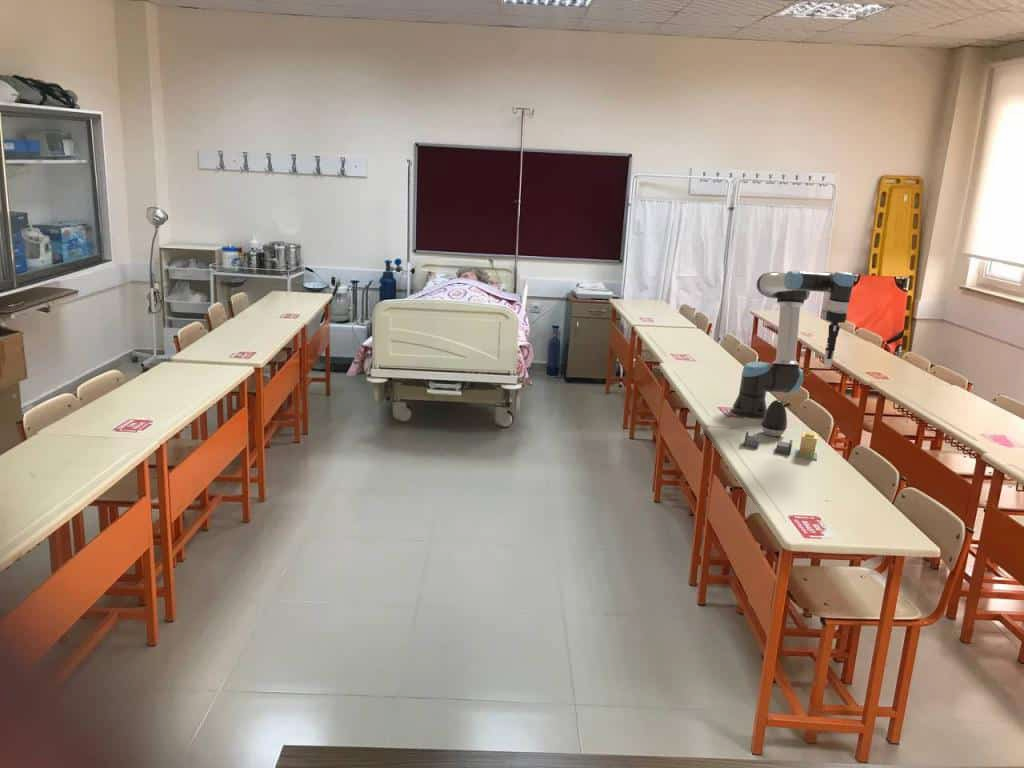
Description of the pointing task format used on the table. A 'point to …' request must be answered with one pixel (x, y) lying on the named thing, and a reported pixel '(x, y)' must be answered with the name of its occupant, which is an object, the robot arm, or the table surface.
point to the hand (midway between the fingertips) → (827, 363)
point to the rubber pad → (806, 457)
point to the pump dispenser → (775, 419)
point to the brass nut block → (808, 444)
